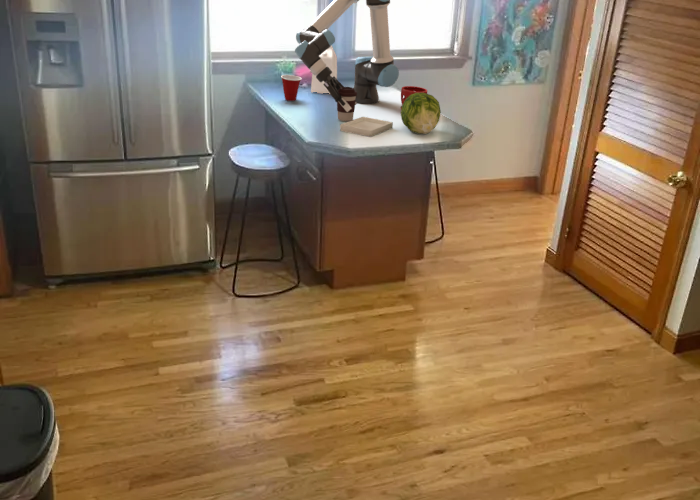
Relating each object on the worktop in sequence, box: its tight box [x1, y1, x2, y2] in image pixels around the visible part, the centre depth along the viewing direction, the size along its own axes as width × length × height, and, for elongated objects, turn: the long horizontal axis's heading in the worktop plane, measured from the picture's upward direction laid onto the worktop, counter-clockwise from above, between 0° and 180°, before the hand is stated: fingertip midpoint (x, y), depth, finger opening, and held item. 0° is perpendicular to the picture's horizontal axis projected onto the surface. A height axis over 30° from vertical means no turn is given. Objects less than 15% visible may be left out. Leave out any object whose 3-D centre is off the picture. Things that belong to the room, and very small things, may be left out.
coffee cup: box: [336, 86, 357, 122], centre depth 344 cm, size 10×10×15 cm
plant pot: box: [400, 85, 428, 110], centre depth 366 cm, size 13×13×12 cm
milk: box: [310, 44, 338, 95], centre depth 398 cm, size 12×12×26 cm
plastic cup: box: [280, 74, 303, 102], centre depth 378 cm, size 11×11×12 cm
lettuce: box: [400, 93, 442, 135], centre depth 329 cm, size 18×23×19 cm
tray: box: [339, 116, 394, 138], centre depth 331 cm, size 20×16×3 cm
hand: (352, 107), depth 344 cm, fingers closed on coffee cup, 10 cm apart
